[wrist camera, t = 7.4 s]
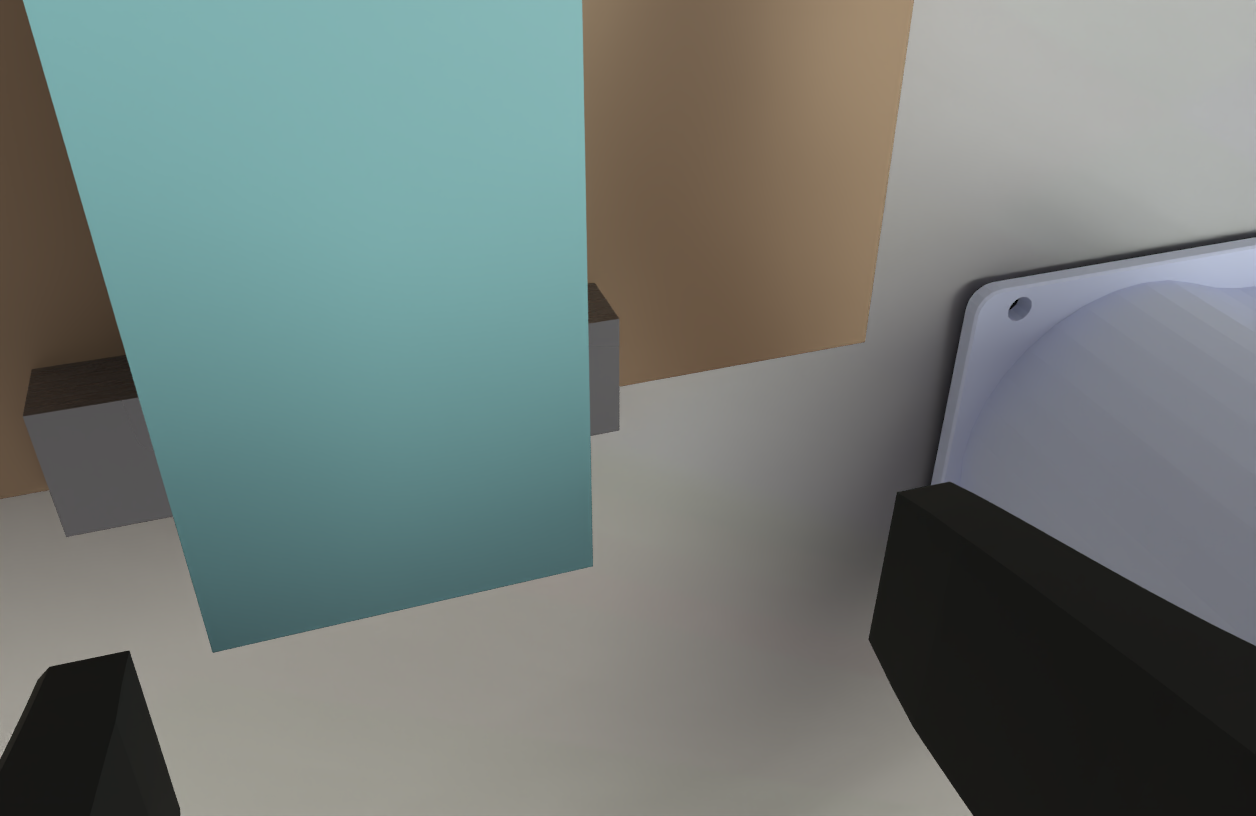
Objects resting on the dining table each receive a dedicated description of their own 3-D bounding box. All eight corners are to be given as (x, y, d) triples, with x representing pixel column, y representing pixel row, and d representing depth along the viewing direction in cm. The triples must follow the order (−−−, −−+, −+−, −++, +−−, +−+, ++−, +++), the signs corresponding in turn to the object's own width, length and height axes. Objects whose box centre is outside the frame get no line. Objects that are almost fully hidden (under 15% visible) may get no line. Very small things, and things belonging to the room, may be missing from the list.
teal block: (382, -426, 12) (572, -504, 6) (449, 259, 16) (592, 565, 11) (17, -436, 11) (-141, -535, 5) (194, 295, 15) (208, 653, 10)
